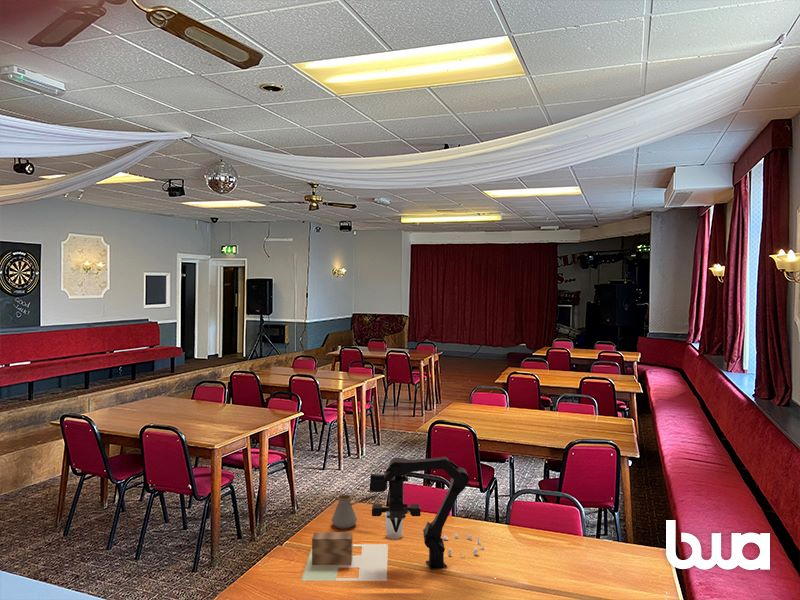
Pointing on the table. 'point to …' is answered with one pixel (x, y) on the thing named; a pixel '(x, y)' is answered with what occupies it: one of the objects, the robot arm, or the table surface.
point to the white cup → (390, 530)
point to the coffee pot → (346, 512)
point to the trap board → (353, 566)
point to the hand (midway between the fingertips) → (396, 531)
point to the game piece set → (467, 538)
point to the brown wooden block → (332, 548)
